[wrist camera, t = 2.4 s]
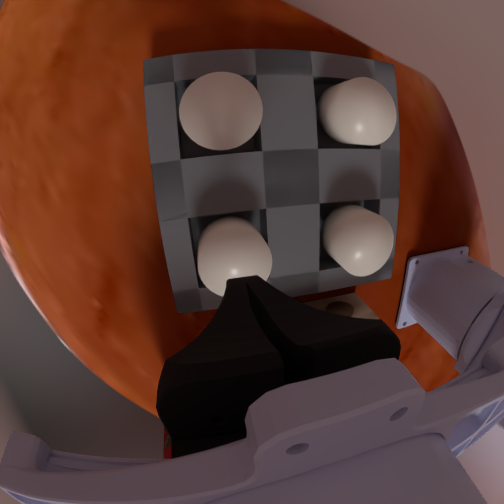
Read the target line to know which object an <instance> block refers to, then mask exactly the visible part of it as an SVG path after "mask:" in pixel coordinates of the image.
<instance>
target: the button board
mask: <svg viewBox="0 0 504 504" xmlns="http://www.w3.org/2000/svg"><path fill="white" fill-rule="evenodd" d="M143 71H144V92H145V108H146V121H147V132H148V143H149V152H150V161H151V169H152V177H153V185H154V192H155V199H156V205H157V212H158V218H159V224H160V230H161V236H162V241H163V247H164V252H165V257H166V263H167V268H168V272H169V277H170V282H171V287H172V291H173V296H174V300H175V305H176V309H177V313H178V314H182V313H190V312H198V311H206V310H213V309H218V307H219V305H220V303H221V301H222V298H223V296H220V295H217V294H215V293H213V292H212V291H211V290H209V289H208V288H207V287H206V286H205V285H204V283H203V282H202V280H201V278H200V275H199V272H198V241H199V237H200V235H201V233H202V231H203V230H204V228H205V227H206V226H207V225H208V224H209V223H211V222H212V221H214V220H215V219H218V218H220V217H224V216H238V217H241V218H244V219H246V220H248V221H249V222H251V223H252V224H253V225H254V226H255V227H256V228H257V230H258V231H259V233H260V234H261V236H262V237H263V239H264V240H265V242H266V243H267V245H268V247H269V249H270V251H271V255H272V269H271V272H270V275H269V277H268V279H267V280H266V282H268V283H269V284H271V285H272V286H273V287H275V288H276V289H278V290H280V291H281V292H283V293H284V294H286V295H288V296H290V297H297V296H303V295H308V294H314V293H319V292H325V291H330V290H335V289H340V288H345V287H350V286H355V285H360V284H365V283H370V282H375V281H379V280H384V279H388V278H391V275H392V267H393V260H394V251H395V242H396V231H397V219H398V204H399V180H400V139H399V115H398V101H397V89H396V79H395V71H394V64H390V63H386V62H381V61H376V60H371V59H366V58H360V57H354V56H348V55H341V54H333V53H325V52H315V51H303V50H287V49H230V50H213V51H201V52H191V53H183V54H175V55H168V56H162V57H156V58H150V59H145V60H143ZM213 72H230V73H235V74H237V75H240V76H242V77H244V78H245V79H247V80H248V81H249V82H250V83H251V84H252V85H253V86H254V87H255V88H256V90H257V91H258V93H259V95H260V97H261V101H262V106H263V115H262V120H261V123H260V125H259V128H258V129H257V131H256V132H255V134H254V135H253V136H252V137H251V138H250V139H249V140H248V141H247V142H245V143H244V144H242V145H240V146H238V147H236V148H232V149H228V150H212V149H208V148H205V147H202V146H200V145H198V144H197V143H196V142H194V141H193V140H192V139H191V138H190V137H189V136H188V135H187V134H186V132H185V131H184V129H183V127H182V125H181V121H180V117H179V107H180V102H181V99H182V96H183V94H184V92H185V91H186V89H187V88H188V87H189V86H190V85H191V84H192V83H193V82H194V81H195V80H197V79H198V78H200V77H202V76H204V75H206V74H209V73H213ZM357 77H367V78H371V79H374V80H376V81H377V82H379V83H380V84H382V85H383V86H384V87H385V88H386V89H387V91H388V92H389V93H390V95H391V97H392V99H393V101H394V104H395V108H396V125H395V128H394V131H393V132H392V134H391V136H390V137H389V138H388V139H387V140H386V141H384V142H383V143H381V144H378V145H359V144H344V143H340V142H337V141H335V140H333V139H332V138H331V137H329V136H328V135H327V134H326V133H325V131H324V130H323V128H322V127H321V125H320V122H319V119H318V115H317V106H318V101H319V99H320V97H321V95H322V93H323V92H324V91H325V90H326V89H328V88H329V87H331V86H333V85H336V84H339V83H342V82H345V81H348V80H351V79H354V78H357ZM344 204H355V205H358V206H361V207H363V208H365V209H367V210H369V211H371V212H374V213H376V214H378V215H380V216H382V217H384V218H385V219H386V220H387V221H388V222H389V224H390V225H391V227H392V230H393V235H394V243H393V248H392V252H391V254H390V256H389V258H388V260H387V261H386V263H385V264H384V265H383V266H382V267H381V268H380V269H379V270H377V271H376V272H374V273H373V274H370V275H367V276H354V275H352V274H350V273H348V272H347V271H346V270H345V269H344V268H343V267H342V266H341V265H340V264H339V263H337V262H336V261H335V260H334V259H333V258H332V257H331V256H330V255H329V254H328V253H327V252H326V251H325V249H324V248H323V245H322V242H321V230H322V226H323V223H324V221H325V219H326V218H327V216H328V215H329V214H330V213H331V212H332V211H333V210H334V209H335V208H337V207H339V206H341V205H344Z"/></svg>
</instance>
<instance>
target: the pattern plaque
mask: <svg viewBox="0 0 504 504" xmlns="http://www.w3.org/2000/svg"><path fill="white" fill-rule="evenodd" d="M304 304H306V305H309V306H311V307H314V308H317V309H320V310H323V311H326V312H330V313H334V314H338V315H343V316H349V317H355V318H366V319H380V318H379V317H378V316H377V315H376V314H375V313H374V312H373V311H372V310H371V309H370V308H369V307H368V306H367V305H366V304H365V303H364V302H363V301H362V299H361V298H360V297H359V296H358V295H357V294H356V293H350V294H345V295H340V296H336V297H331V298H325V299H320V300H315V301H310V302H304Z"/></svg>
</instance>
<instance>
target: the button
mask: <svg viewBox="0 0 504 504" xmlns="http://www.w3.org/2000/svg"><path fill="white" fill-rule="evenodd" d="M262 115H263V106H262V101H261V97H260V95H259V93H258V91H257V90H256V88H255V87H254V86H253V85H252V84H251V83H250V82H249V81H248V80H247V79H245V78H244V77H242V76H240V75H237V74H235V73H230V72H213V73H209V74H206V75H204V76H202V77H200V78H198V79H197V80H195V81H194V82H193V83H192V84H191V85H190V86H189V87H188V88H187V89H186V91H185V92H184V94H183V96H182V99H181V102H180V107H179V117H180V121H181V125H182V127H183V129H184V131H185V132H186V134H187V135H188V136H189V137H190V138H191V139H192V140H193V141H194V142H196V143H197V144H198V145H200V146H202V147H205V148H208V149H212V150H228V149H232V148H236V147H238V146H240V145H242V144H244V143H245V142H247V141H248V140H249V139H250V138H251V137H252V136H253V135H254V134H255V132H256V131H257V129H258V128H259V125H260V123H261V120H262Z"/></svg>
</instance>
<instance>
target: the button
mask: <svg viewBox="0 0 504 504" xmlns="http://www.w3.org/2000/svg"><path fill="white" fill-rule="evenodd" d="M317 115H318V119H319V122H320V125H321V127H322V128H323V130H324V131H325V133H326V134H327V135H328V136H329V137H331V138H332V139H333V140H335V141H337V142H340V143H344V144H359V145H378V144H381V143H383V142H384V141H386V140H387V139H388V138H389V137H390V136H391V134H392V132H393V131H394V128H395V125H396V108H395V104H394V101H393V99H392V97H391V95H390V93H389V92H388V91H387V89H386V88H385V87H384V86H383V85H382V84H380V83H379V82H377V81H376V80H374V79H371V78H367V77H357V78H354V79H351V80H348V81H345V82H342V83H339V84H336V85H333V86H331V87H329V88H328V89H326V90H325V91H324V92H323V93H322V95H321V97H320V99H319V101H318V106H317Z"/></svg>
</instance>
